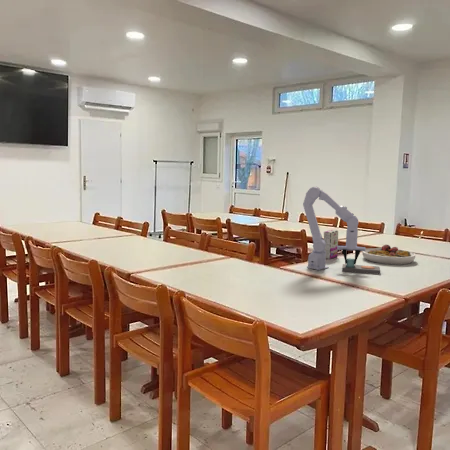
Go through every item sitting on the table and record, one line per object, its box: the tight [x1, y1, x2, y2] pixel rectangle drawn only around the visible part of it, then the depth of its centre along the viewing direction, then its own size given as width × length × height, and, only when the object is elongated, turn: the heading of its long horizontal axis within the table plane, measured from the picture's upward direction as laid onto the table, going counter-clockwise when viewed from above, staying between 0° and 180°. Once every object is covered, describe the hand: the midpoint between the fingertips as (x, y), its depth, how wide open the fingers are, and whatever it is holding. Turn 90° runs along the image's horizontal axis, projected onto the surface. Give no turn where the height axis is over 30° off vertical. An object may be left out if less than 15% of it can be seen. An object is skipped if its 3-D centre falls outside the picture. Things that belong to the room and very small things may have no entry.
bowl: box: [361, 244, 416, 265], centre depth 271 cm, size 30×30×8 cm
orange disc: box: [361, 265, 375, 269], centre depth 239 cm, size 7×7×1 cm
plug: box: [346, 258, 355, 268], centre depth 241 cm, size 4×4×6 cm
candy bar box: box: [323, 229, 339, 260], centre depth 275 cm, size 11×5×16 cm, turn 143°
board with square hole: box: [341, 263, 381, 275], centre depth 240 cm, size 19×10×2 cm, turn 74°
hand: (350, 263), depth 241 cm, fingers closed on plug, 4 cm apart
